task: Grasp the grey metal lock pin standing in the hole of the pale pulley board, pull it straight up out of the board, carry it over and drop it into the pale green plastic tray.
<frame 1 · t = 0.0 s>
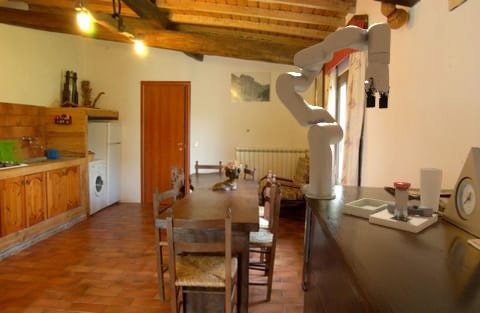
hand: (377, 108, 116), 37 cm above the counter, tool pointing down, fingers open, 9 cm apart
lock pin: (400, 225, 97), resting in pulley board
tray: (368, 211, 113), on the counter
pulley board: (403, 221, 101), on the counter
drinking glass: (429, 211, 113), on the counter
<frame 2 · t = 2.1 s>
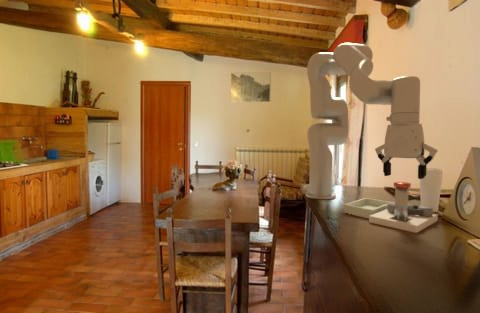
hand: (403, 176, 95), 15 cm above the counter, tool pointing down, fingers open, 9 cm apart
nothing on the counter moved.
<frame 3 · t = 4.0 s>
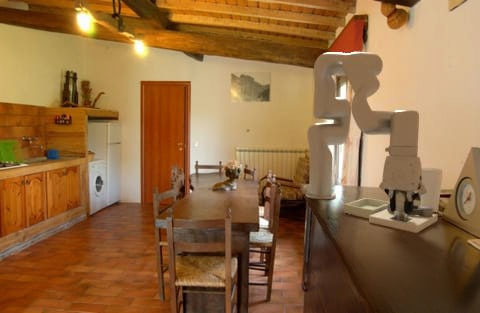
hand: (401, 211, 97), 4 cm above the counter, tool pointing down, fingers closed on lock pin, 3 cm apart
lock pin: (400, 225, 97), resting in pulley board, touching gripper
everything else where it was.
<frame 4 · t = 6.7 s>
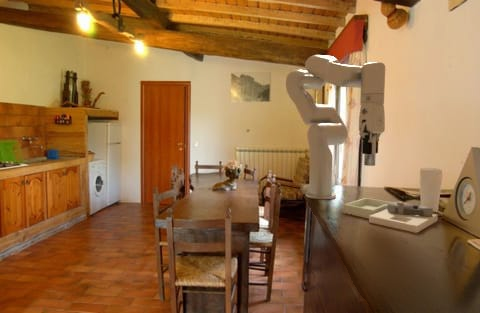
hand: (370, 153, 111), 21 cm above the counter, tool pointing down, fingers closed on lock pin, 3 cm apart
lock pin: (369, 165, 111), point 17 cm above the counter, touching gripper
everything else where it was.
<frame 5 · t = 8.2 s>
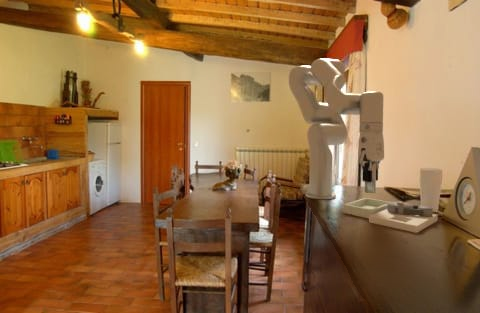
hand: (370, 180, 111), 11 cm above the counter, tool pointing down, fingers closed on lock pin, 3 cm apart
lock pin: (370, 192, 112), point 7 cm above the counter, touching gripper
everything else where it was.
when the fingers open (7 cm above the counter, at t = 9.6 s): lock pin drops 2 cm, resting on tray.
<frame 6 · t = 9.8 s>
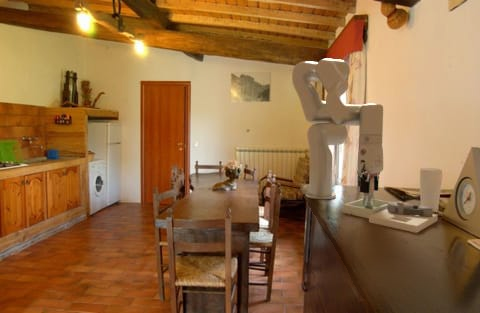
hand: (369, 190, 112), 8 cm above the counter, tool pointing down, fingers open, 5 cm apart
lock pin: (368, 209, 113), point 1 cm above the counter, touching tray
everything else where it was.
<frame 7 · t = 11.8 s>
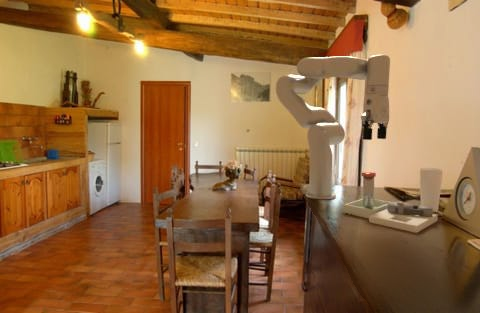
hand: (374, 139, 116), 25 cm above the counter, tool pointing down, fingers open, 9 cm apart
nothing on the counter moved.
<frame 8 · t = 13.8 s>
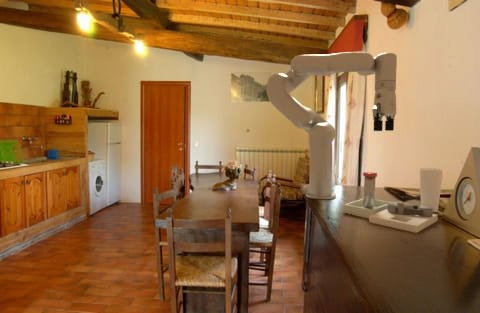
hand: (383, 130, 125), 28 cm above the counter, tool pointing down, fingers open, 9 cm apart
nothing on the counter moved.
at the end: lock pin inside the target area on the tray (0.1 cm from its centre), point 0.8 cm above the tray's base; the gripper is holding nothing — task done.
